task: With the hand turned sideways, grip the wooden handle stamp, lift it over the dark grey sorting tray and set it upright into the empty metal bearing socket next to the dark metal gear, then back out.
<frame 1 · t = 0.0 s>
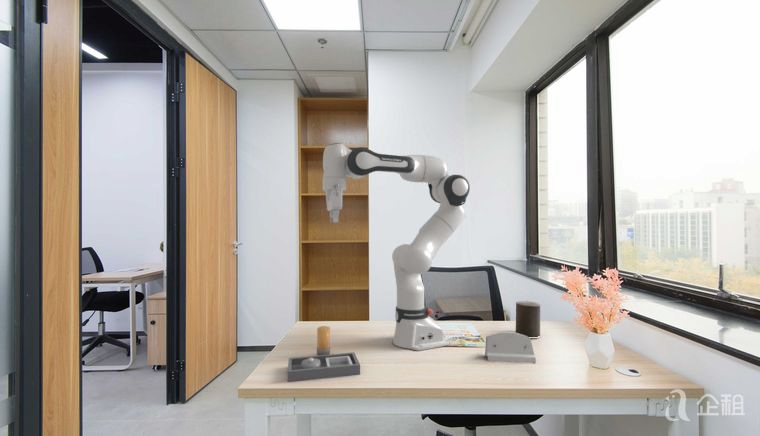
hand: (334, 222, 132), 48 cm above the table, tool pointing down, fingers open, 8 cm apart
hinge: (509, 358, 123), on the table
wooden handle stamp: (323, 356, 124), on the table
dark grey sorting tray: (323, 370, 111), on the table
pillar candle: (528, 335, 148), on the table
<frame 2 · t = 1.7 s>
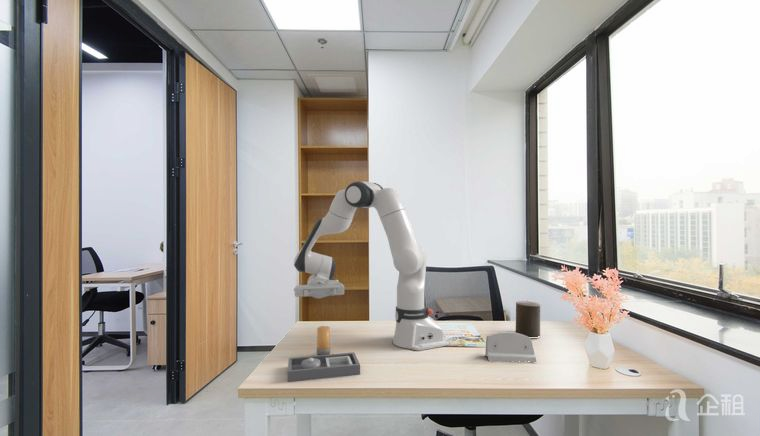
hand: (321, 294, 136), 20 cm above the table, tool horizontal, fingers open, 8 cm apart
nothing on the table moved.
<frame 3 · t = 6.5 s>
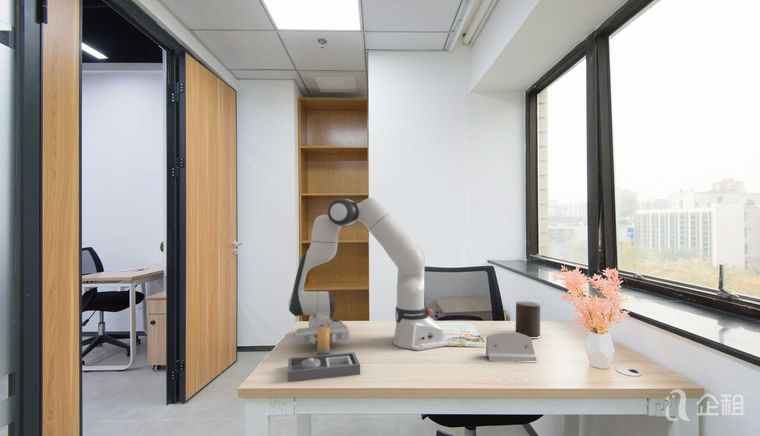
hand: (323, 341, 123), 6 cm above the table, tool horizontal, fingers closed on wooden handle stamp, 4 cm apart
wooden handle stamp: (323, 356, 124), on the table, touching gripper
everything else where it was.
when the fingers open (8 cm above the table, at t = 12.2 s): wooden handle stamp drops 1 cm, resting on dark grey sorting tray.
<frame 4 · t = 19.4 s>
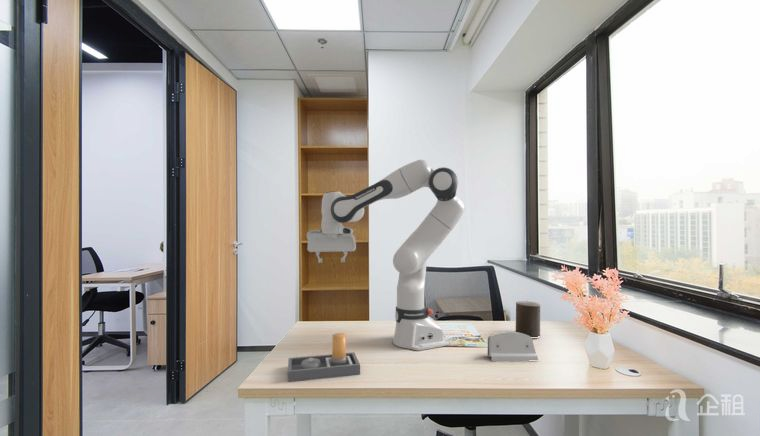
hand: (331, 262, 146), 31 cm above the table, tool pointing down, fingers open, 8 cm apart
wooden handle stamp: (338, 366, 113), point 1 cm above the table, touching dark grey sorting tray
at the end: wooden handle stamp 0.0 cm from the target spot on the dark grey sorting tray, point 1.0 cm above the dark grey sorting tray's base; wooden handle stamp tilted 1°; the gripper is holding nothing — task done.
